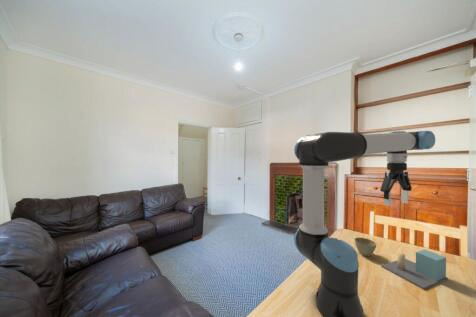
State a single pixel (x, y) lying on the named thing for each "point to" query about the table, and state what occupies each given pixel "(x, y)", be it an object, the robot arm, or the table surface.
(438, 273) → the pale blue block
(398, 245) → the table surface
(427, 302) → the table surface
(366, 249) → the grey brown bowl
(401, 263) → the stand
